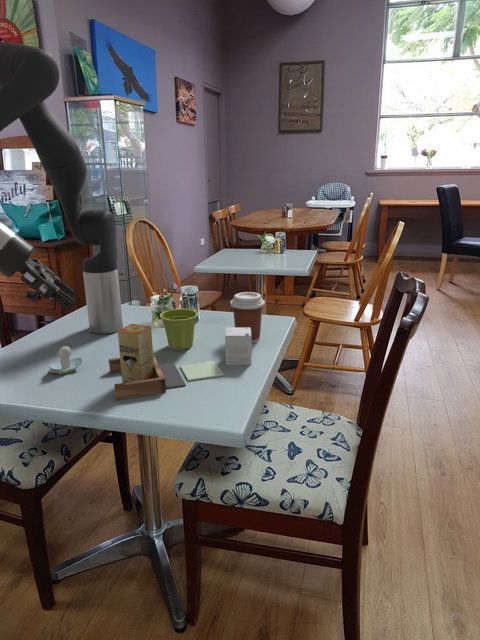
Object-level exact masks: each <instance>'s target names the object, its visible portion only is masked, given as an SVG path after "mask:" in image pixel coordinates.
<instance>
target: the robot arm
mask: <svg viewBox="0 0 480 640" xmlns="http://www.w3.org/2000/svg"><path fill="white" fill-rule="evenodd" d="M59 81H60V69H59V65H58V63H57V60H56V59H55V57H54V56H53V55H52V54H51V53H50V52H48V51H47V50H45V49H43V48H40V47H37V46H33V45H32V46H31V45H29V44H28V45H27V44H21V43H16V42H6V41H5V42H1V43H0V133H1V132H2V131H3V130H4V129H6V128H7V127H8V126H10V125H11V124H13V123H14V122H15V121H17V120H18V119H19V121H20V123H21V124H22V126H23V128H24V131H25V133H26V135H27V136H28V139H29V141H30V142H31V145H32V147H33V149H34V150H35V153H36V154H37V157H38V160H39V161H40V162H39V163H40V164H41V166H42V168H43V170H44V172H45V174H46V176H47V178H48V180H49V181H50V184H51V185H52V187H53V190H54V192H55V194H56V196H57V198H58V200H59V202H60V205H61V209H62V210H63V213H64V216H65V219H66V221H67V225H68V227H69V230H70V232H71V235H72V237H73V238H74V240H75V241H76V242H77V244H80V245H83V246H99V252H97V254H95V255H93V256H90V257H87V258H85V259H84V260H82V262H81V266H82V275H83V276H82V277H83V284H84V292H85V302H86V310H87V319H88V320H87V321H88V327H89V332H91V333H92V334H96V335H97V334H98V335H105V334H113V333H118V330H120V329H122V328H124V325H123V315H122V303H121V293H120V292H121V291H120V281H119V272H118V271H119V270H118V247H117V246H118V245H117V243H118V242H117V224H116V220H115V216H114V214H113V213H112V211H110V210H107V209H84V207H83V206H82V204H81V200H80V197H81V193H82V190H83V187H84V185H85V181H86V178H87V165H86V163H85V160H84V159H85V158H84V157H83V154H82V152H81V150H80V146H79V145H78V143H77V141H76V139H75V138H74V136H73V135H72V134H71V132H69V130H68V129H67V128H66V127H65V126H64V125H63V124H62V123H61V121H59V119H58V118H57V117H56V116H55V115H54V113H52V111H51V110H50V108H49V107H48V105H47V104H46V102H45V101H46V100H47V99H48V98H49V97H50V96H52V95H53V93H55V91H56V89H57V87H58V85H59ZM34 252H35V246H33V245H32V244H30V243H29V242H28V241H27V240H26V239H24V238H23V237H21V236H20V235H19V234H18V233H17V232H15V231H13V229H11V228H10V227H9V226H8V225H6V224H5V223H4V222H2V221H0V274H1V275H3V276H4V277H6V278H7V279H8V278H11V277H13V276H14V275H15V274H16V273H17V272H18V273H19V274H20V275H21V277H20V280H21V282H23V283H25V284H26V285H27V286H29V287H30V288H32V289H33V290H34V291H36V292H37V293H38V294H39V295H40V296H42V297H44V299H45V300H52V301H54V302H55V303H57V304H58V305H60V307H62V308H64V309H65V310H66V311H71V310H72V308H74V306H75V305H76V300H75V299H74V298H73V297H75V295H76V293H75V290H74V289H72V288H71V287H70V286H68V285H66V284H65V283H64V282H63V281H61V279H60V277H59V276H58V274H57V273H56V272H53V271H52V270H51V269H50V268H48V267H47V265H45V264H44V263H42V262H41V261H40V260H38V259H37V258H35V257H33V258H32V259H30V257H31V256H32V254H34Z"/></svg>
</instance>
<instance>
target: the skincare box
mask: <svg viewBox="0 0 480 640" xmlns="http://www.w3.org/2000/svg"><path fill="white" fill-rule="evenodd" d="M224 338H225V339H224V340H225V344H224V345H225V365H227V366H240V365H241V366H243V365H244V366H245V365H246V366H250V365H252V343H251V328H250V327H248V328H235V327H231V326H230V327H226V328H225V333H224Z"/></svg>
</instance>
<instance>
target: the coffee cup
mask: <svg viewBox="0 0 480 640" xmlns="http://www.w3.org/2000/svg"><path fill="white" fill-rule="evenodd" d="M229 302H230V304H229V305H230V307H232V310H233V311H232V313H233V321H234V328H248V327H250V328H251V344H253V343H252V342H254V343H257V342H259V341H260V340H261V329H262V328H261V326H262V316H263V308H264V306H266V302H265V299H263V298H262V295H261V294H260V293H258V292H254V291H253V292H252V291H251V292H249V291H244V292H242V291H241V292H238V293H235V294H234V296H233V298H232V299H231V300H230V301H229ZM259 339H260V340H259ZM258 340H259V341H258ZM256 341H257V342H256Z"/></svg>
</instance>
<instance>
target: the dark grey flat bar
mask: <svg viewBox="0 0 480 640" xmlns="http://www.w3.org/2000/svg"><path fill="white" fill-rule="evenodd" d="M159 367H160V369H161V371H162V373H163V375H164V378H165V385H166V390H169V389H175V388H181V387H186V386H187V385H186V382H185V381H184V378H183V377H182V375H181V373H180V371H179V369H178V367H177V366H176V364H175V363H170V364H169V363H168V364H163V365H161V364H160V365H159Z"/></svg>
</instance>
